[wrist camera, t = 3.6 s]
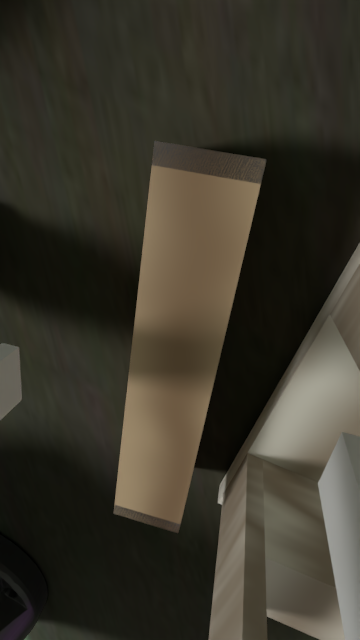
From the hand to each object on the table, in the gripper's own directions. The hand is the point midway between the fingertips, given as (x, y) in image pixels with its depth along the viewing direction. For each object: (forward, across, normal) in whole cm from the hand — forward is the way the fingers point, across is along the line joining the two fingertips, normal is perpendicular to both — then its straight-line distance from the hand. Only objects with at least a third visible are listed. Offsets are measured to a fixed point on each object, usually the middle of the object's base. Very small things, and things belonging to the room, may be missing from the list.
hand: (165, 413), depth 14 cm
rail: (+7, 0, 0) cm, 7 cm away
